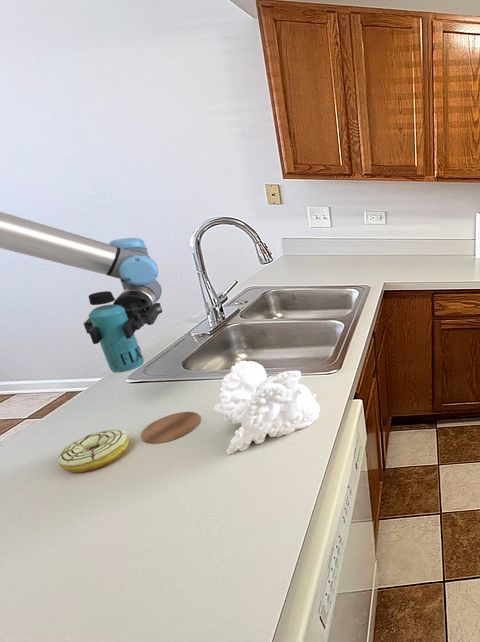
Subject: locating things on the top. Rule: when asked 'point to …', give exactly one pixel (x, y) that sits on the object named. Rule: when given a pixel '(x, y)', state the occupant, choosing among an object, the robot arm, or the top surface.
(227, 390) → the white ornate sculpture
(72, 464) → the decorated donut
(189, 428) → the cork coaster
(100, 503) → the top surface
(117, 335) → the beverage bottle
